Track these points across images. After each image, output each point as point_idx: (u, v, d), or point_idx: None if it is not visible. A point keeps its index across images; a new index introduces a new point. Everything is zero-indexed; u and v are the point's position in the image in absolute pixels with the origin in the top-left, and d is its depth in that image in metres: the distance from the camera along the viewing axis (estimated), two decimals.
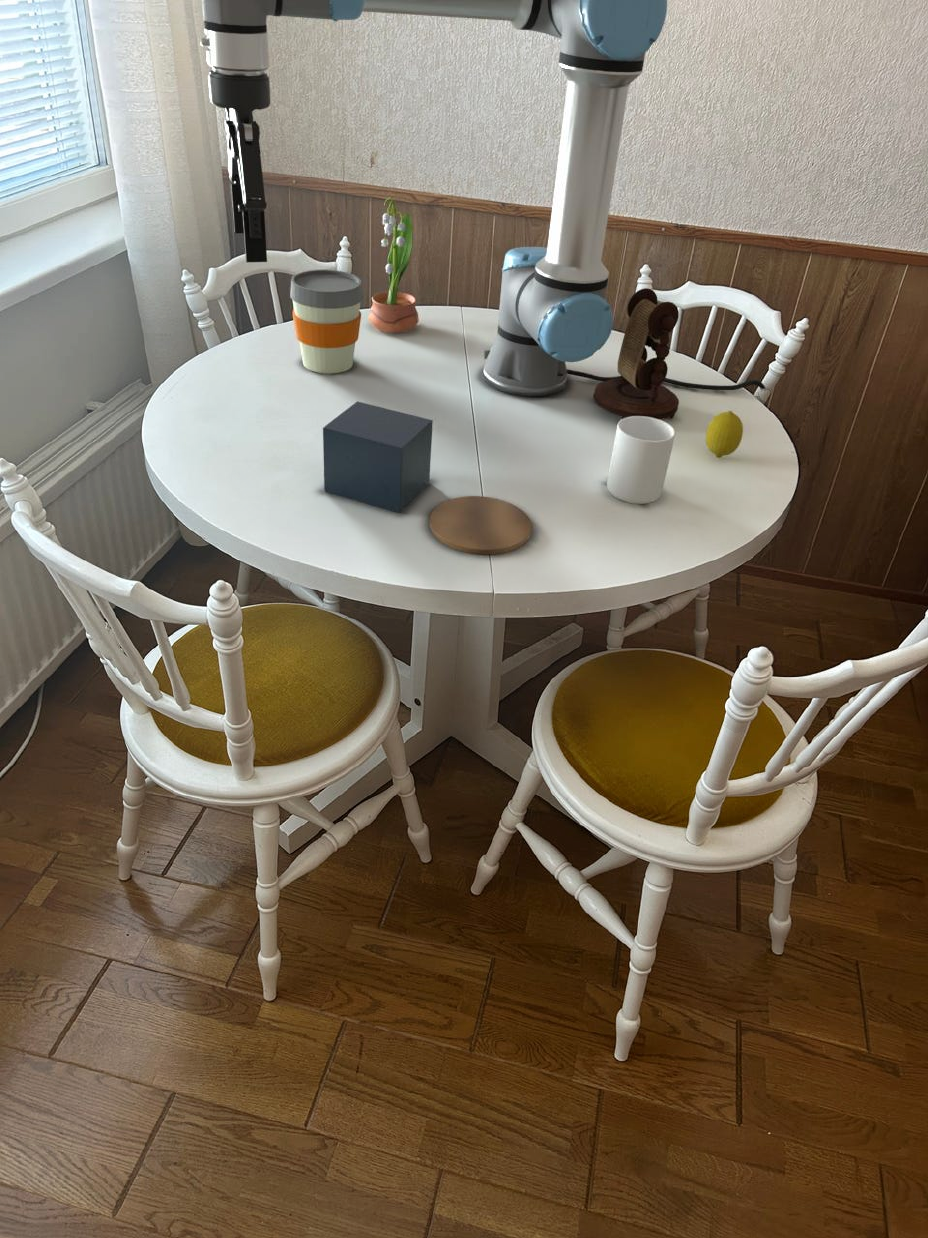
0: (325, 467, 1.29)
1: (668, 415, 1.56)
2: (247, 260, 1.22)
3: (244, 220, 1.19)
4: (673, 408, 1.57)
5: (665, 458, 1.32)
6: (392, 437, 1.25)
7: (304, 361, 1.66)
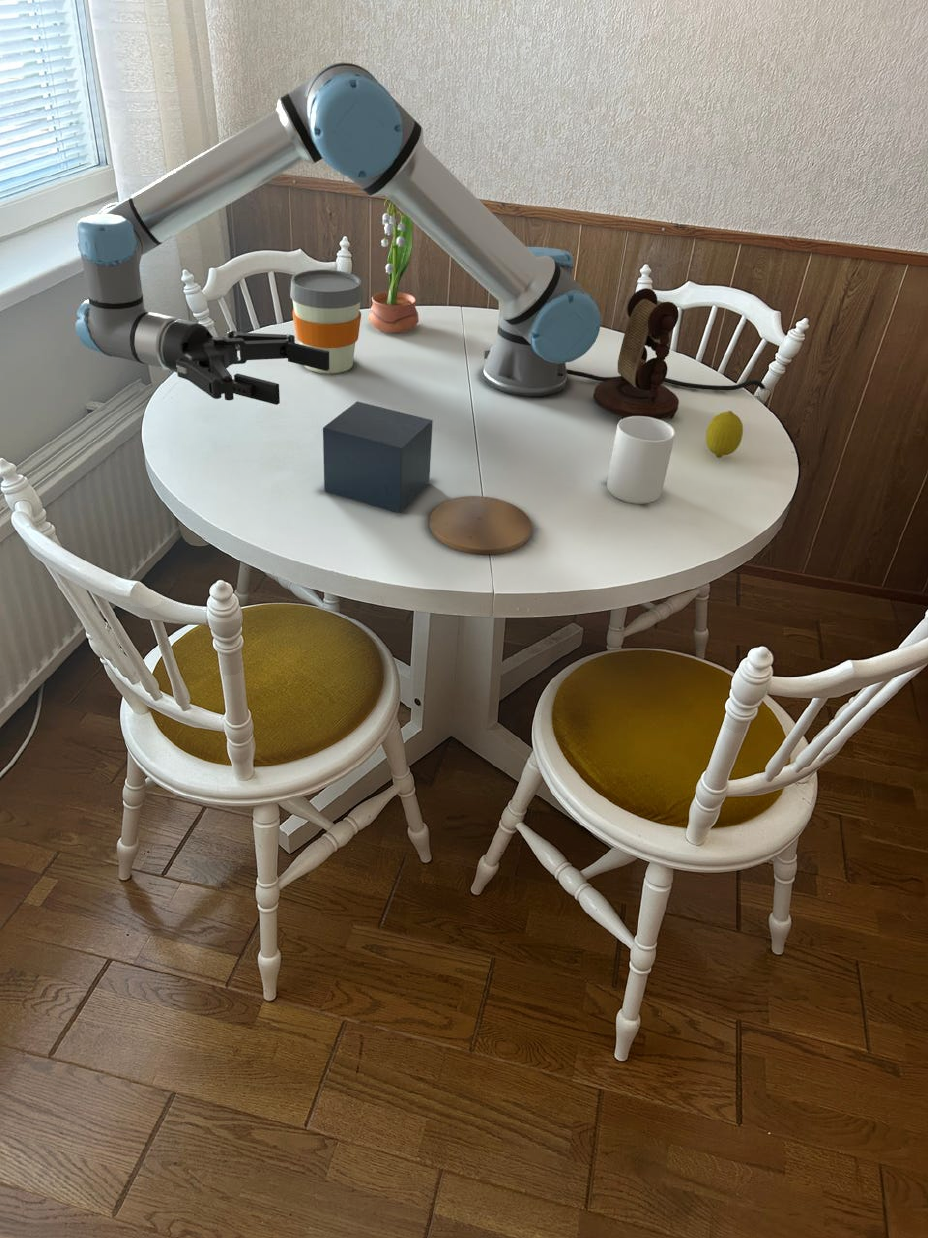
0: (325, 467, 1.29)
1: (668, 415, 1.56)
2: (275, 403, 1.24)
3: None
4: (673, 407, 1.57)
5: (665, 458, 1.32)
6: (392, 437, 1.25)
7: None
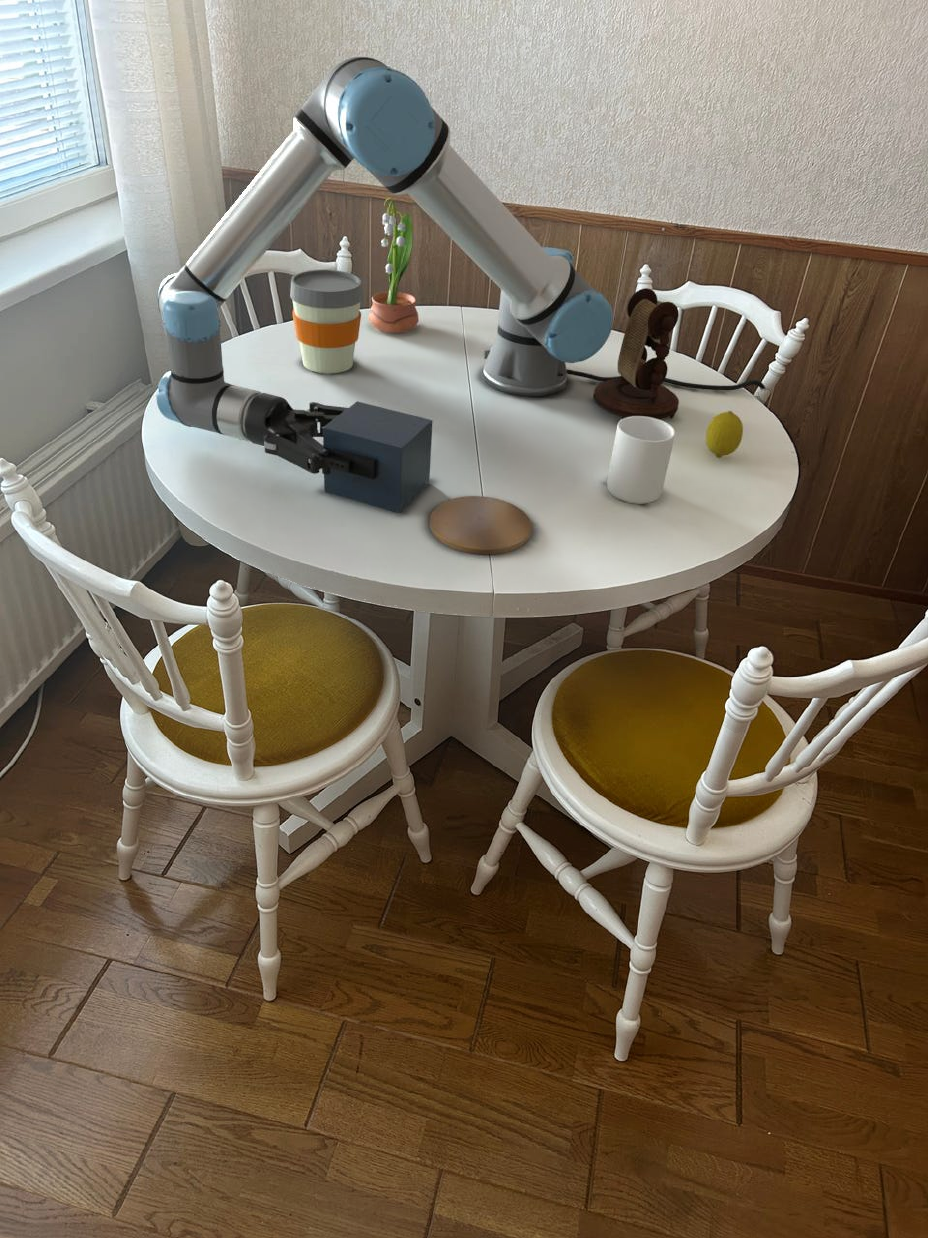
0: None
1: (668, 415, 1.56)
2: (372, 478, 1.26)
3: None
4: (673, 407, 1.57)
5: (665, 458, 1.32)
6: (392, 437, 1.25)
7: (304, 361, 1.66)
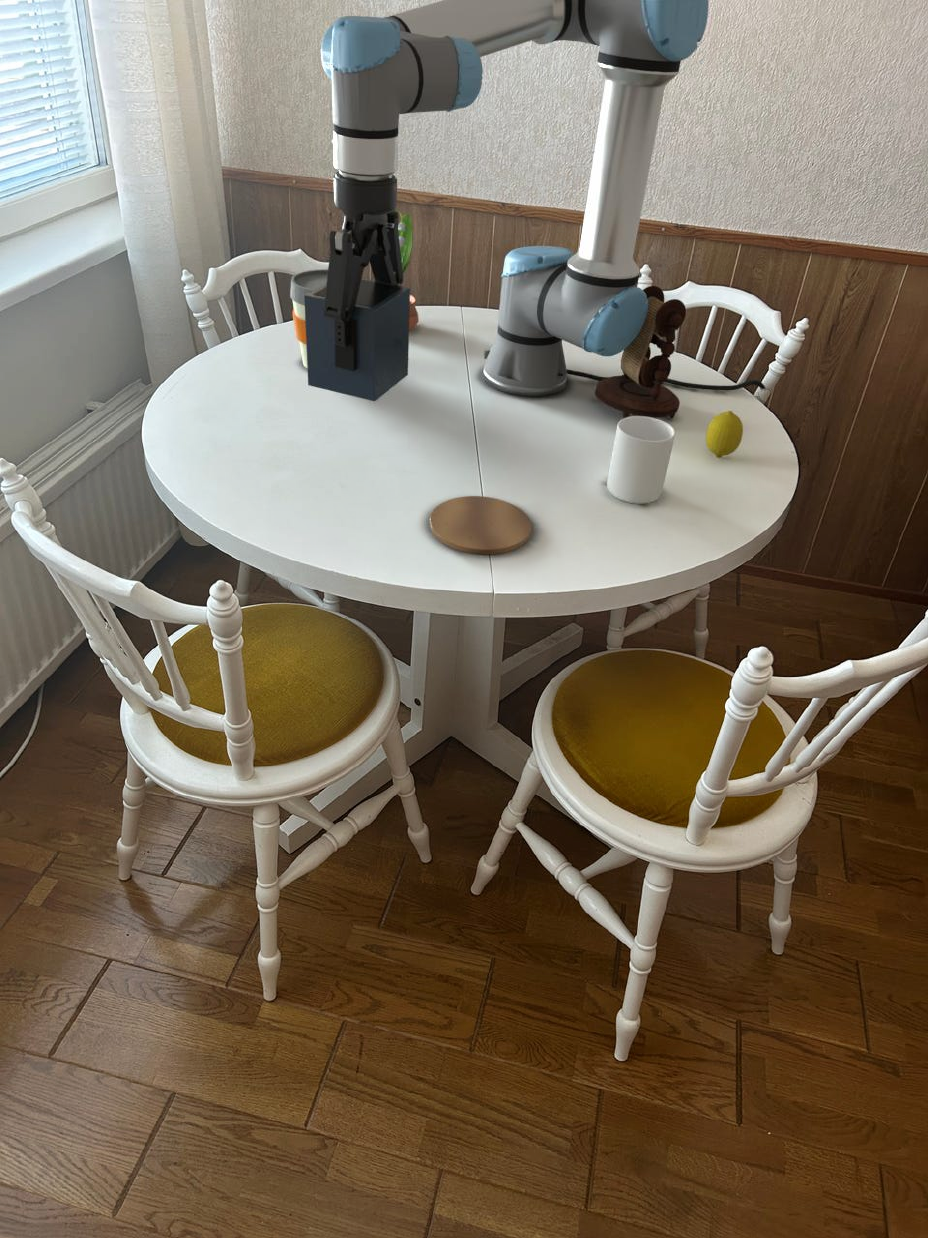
0: None
1: (669, 414, 1.56)
2: (336, 365, 1.18)
3: (335, 326, 1.15)
4: (674, 407, 1.57)
5: (665, 458, 1.32)
6: (382, 377, 1.20)
7: (304, 361, 1.66)
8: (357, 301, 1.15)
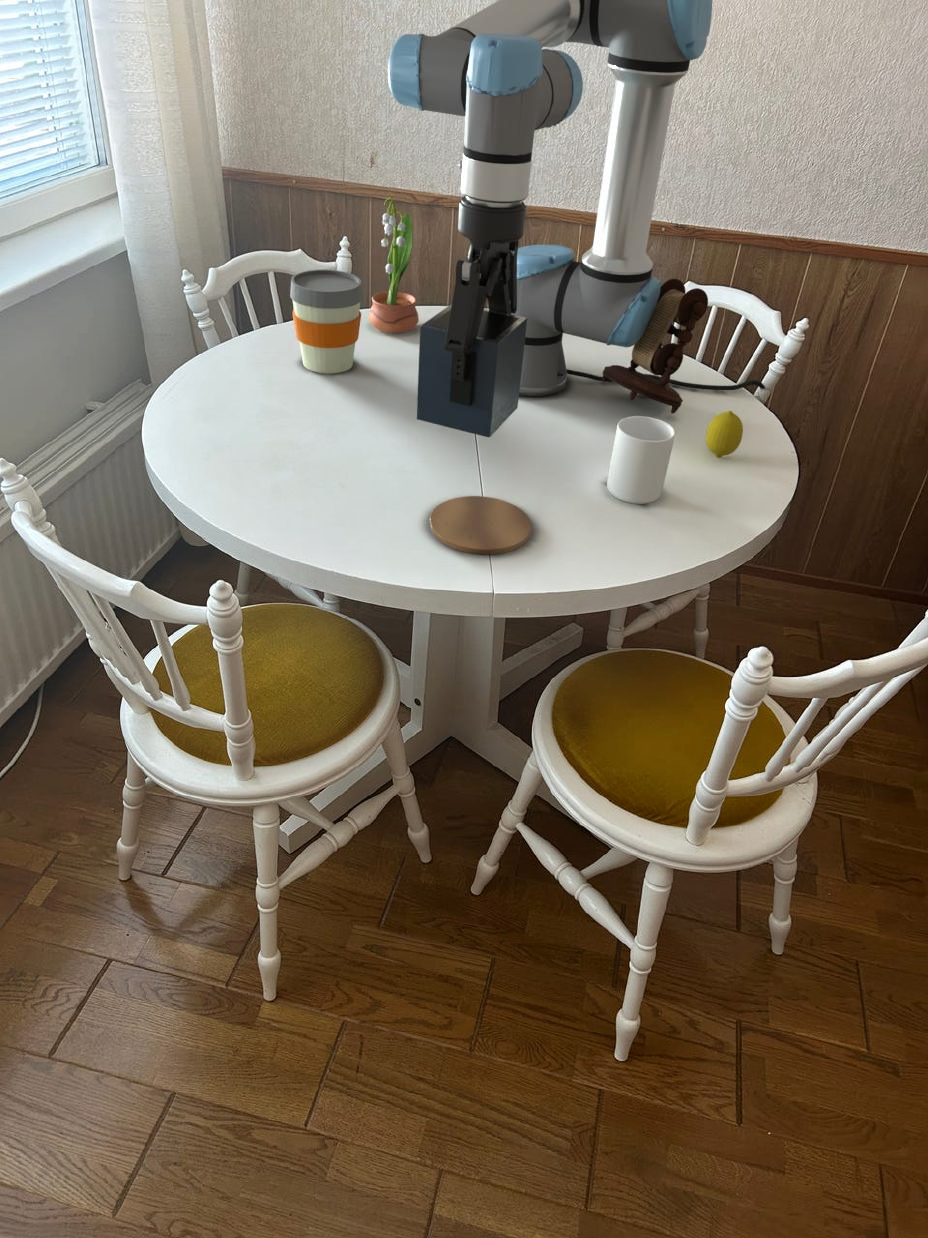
0: None
1: (674, 404, 1.56)
2: (450, 399, 1.12)
3: (453, 359, 1.09)
4: (679, 400, 1.57)
5: (665, 458, 1.32)
6: (497, 412, 1.14)
7: (304, 361, 1.66)
8: None
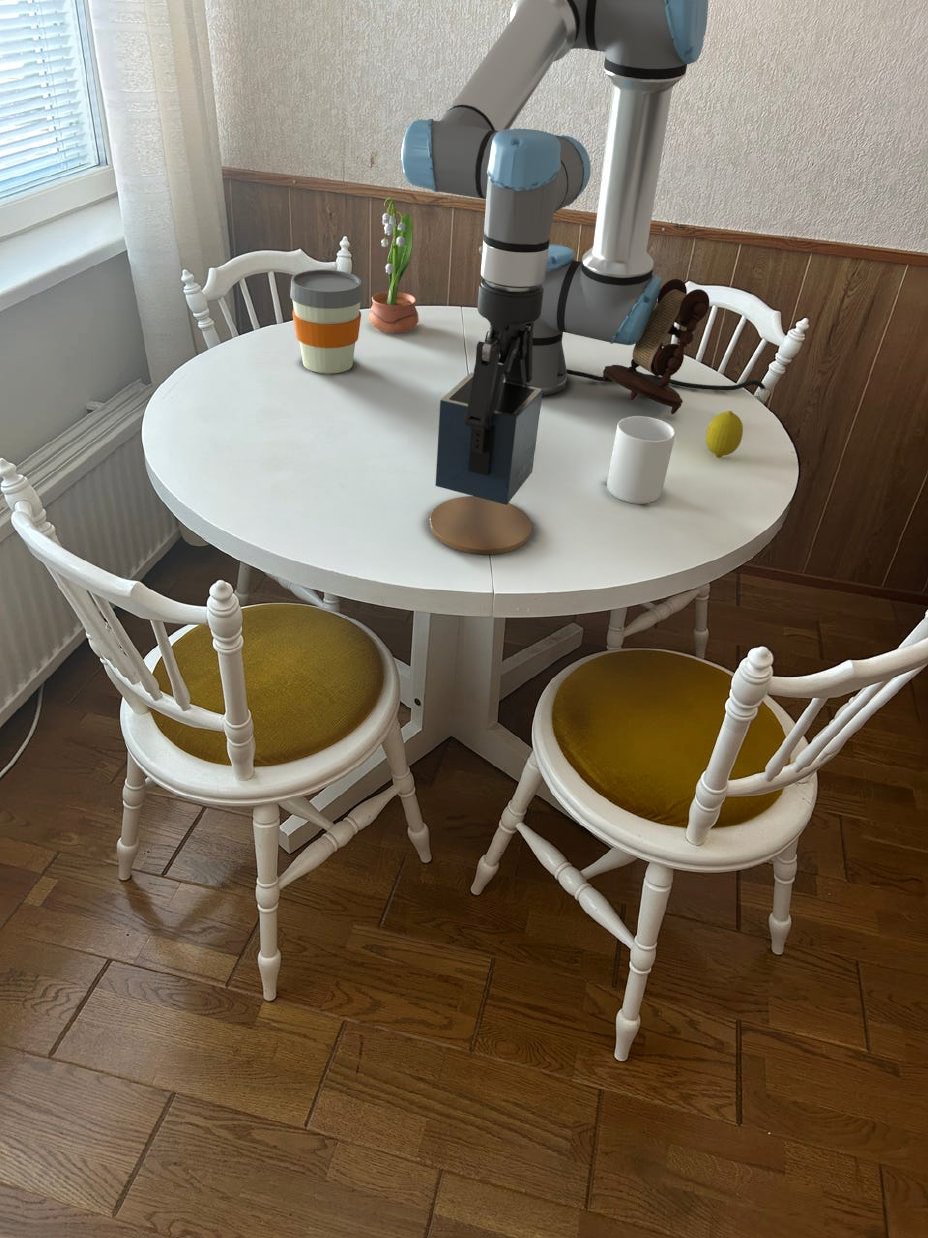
0: None
1: (674, 405, 1.56)
2: (469, 469, 1.16)
3: (472, 432, 1.13)
4: (679, 401, 1.57)
5: (665, 458, 1.32)
6: (514, 480, 1.18)
7: (304, 361, 1.66)
8: None
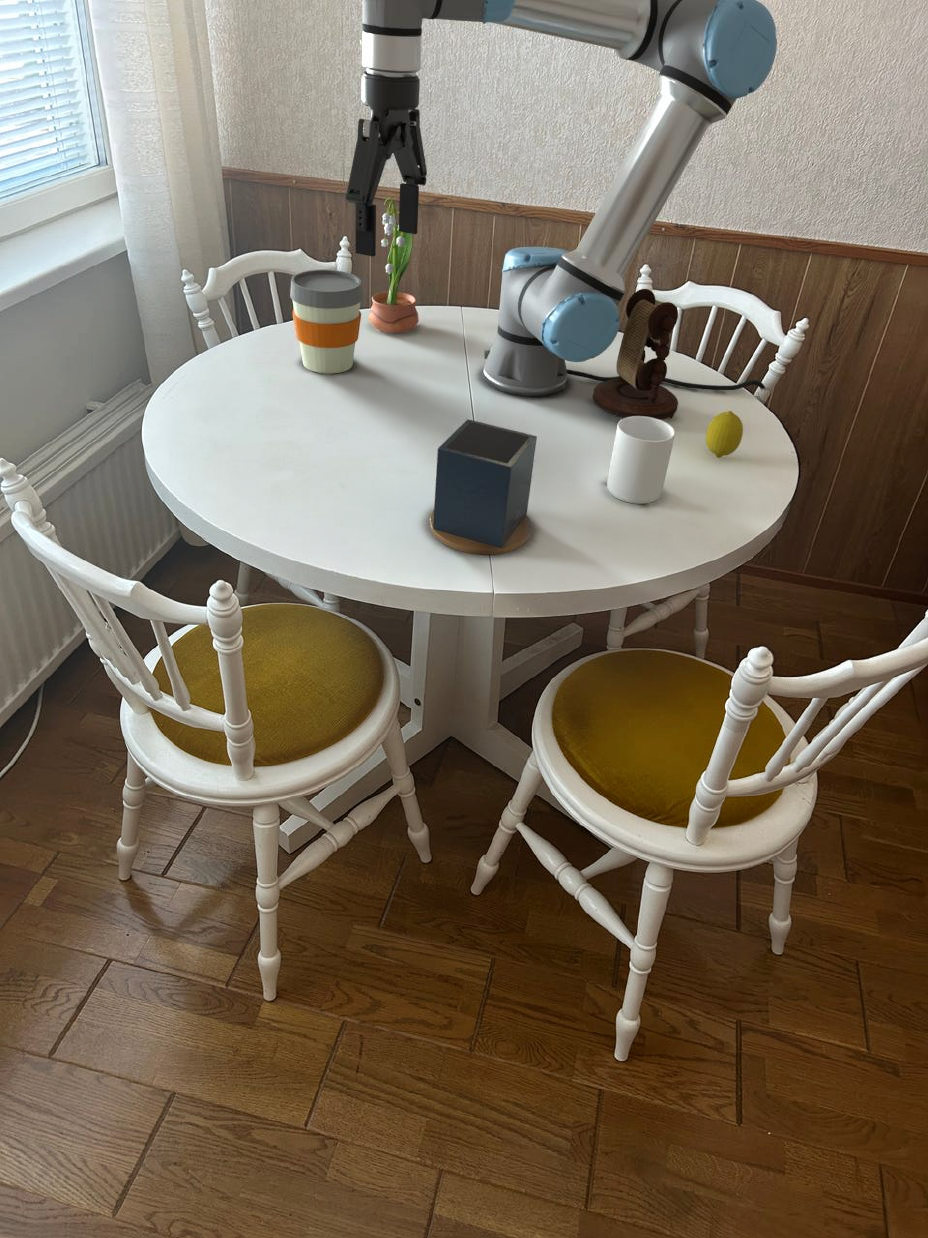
0: (466, 458, 1.16)
1: (668, 415, 1.56)
2: (356, 251, 1.27)
3: None
4: (673, 407, 1.57)
5: (665, 458, 1.32)
6: (509, 525, 1.22)
7: (304, 361, 1.66)
8: (491, 455, 1.16)
